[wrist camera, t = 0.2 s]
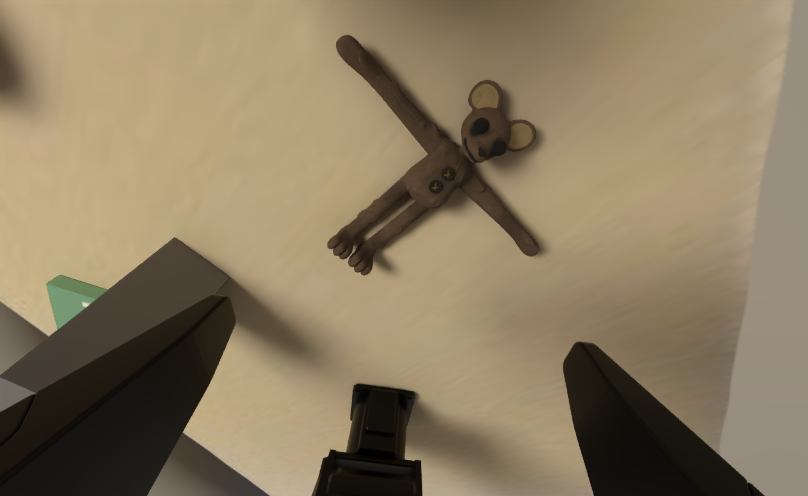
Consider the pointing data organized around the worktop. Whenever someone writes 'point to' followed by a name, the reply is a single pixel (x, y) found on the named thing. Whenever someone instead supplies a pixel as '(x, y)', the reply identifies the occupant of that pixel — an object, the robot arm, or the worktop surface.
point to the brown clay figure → (435, 162)
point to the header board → (70, 297)
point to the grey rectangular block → (115, 318)
